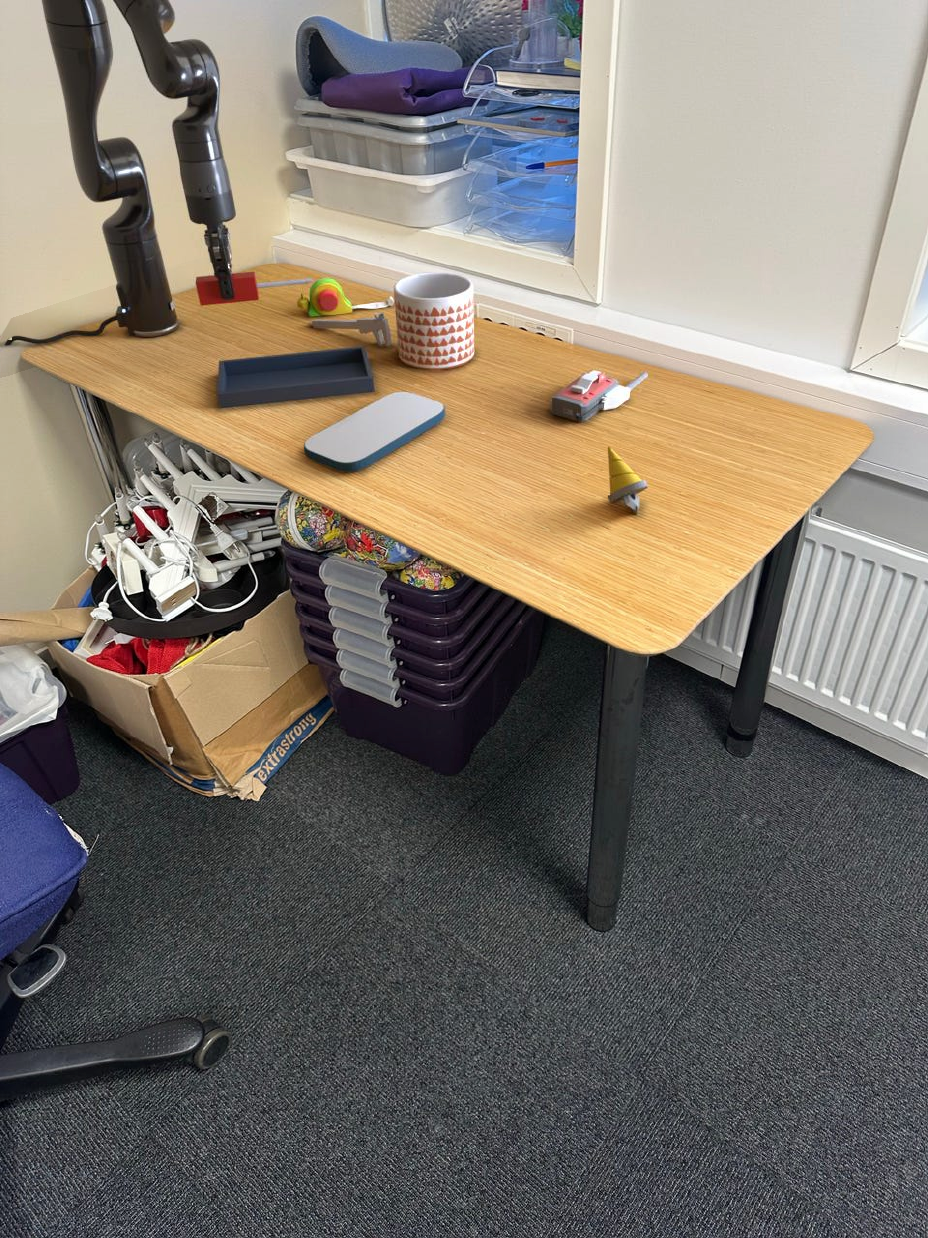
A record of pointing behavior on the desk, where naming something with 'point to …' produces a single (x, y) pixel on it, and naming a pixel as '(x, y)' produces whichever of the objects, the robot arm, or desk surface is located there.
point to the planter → (434, 320)
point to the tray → (294, 377)
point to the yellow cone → (623, 482)
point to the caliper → (360, 326)
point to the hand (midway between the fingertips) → (228, 294)
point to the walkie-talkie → (591, 396)
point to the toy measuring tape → (332, 300)
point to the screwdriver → (236, 288)
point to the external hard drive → (374, 431)
